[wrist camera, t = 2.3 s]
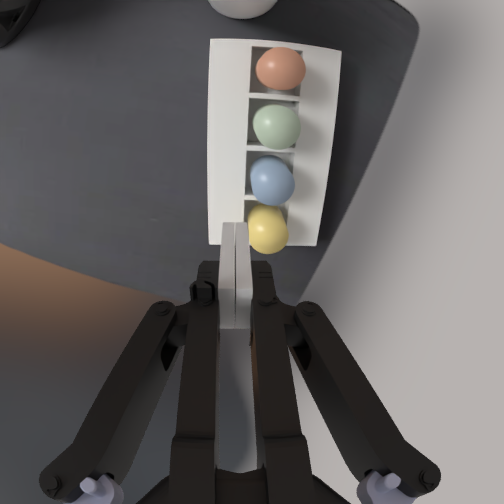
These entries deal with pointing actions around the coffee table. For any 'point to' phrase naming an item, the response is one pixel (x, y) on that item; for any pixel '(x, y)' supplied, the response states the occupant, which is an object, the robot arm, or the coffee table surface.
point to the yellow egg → (267, 229)
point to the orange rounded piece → (280, 69)
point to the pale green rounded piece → (276, 126)
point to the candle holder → (242, 7)
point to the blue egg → (271, 180)
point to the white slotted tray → (250, 148)
